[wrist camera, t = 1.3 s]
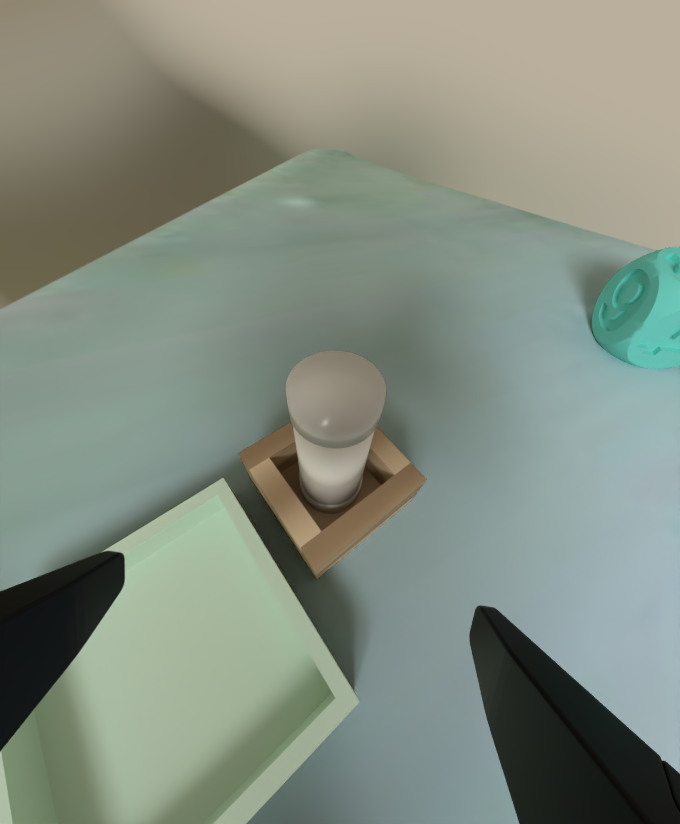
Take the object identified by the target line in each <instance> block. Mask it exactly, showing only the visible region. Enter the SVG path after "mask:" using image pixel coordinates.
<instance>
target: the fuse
mask: <svg viewBox="0 0 680 824" xmlns="http://www.w3.org/2000/svg"><path fill="white" fill-rule="evenodd" d="M286 398H287V404H288V410H289V417H290V420H291V422H292V425H293V429H294V436H295V443H296V449H297V456H298V463H299V470H300V473H299V481H300V488H301V493H302V496H303V498H304V499H305V501H306V502H307V504H308V505H309V506H310V507H312V508H313V509H315V510H316V511H319V512H321V513H326V514H335V513H339V512H342V511H344V510H346V509H348V508H349V507H350V506H352V505H353V503H354V502H355V501H356V499H357V497H358V495H359V492H360V488H361V485H362V479H363V472H364V468H365V464H366V460H367V457H368V453H369V449H370V445H371V442H372V438H373V434H374V430H375V429H376V427H377V425H378V423H379V420H380V417H381V413H382V410H383V406H384V402H385V399H386V385H385V381H384V378H383V376H382V375H381V373H380V371H379V370H378V369H377V368H376V367H375V366H374V365H373V364H372V363H371V362H370V361H368V360H367V359H365V358H363V357H361V356H359V355H357V354H354V353H350V352H346V351H337V350H332V351H323V352H318V353H315V354H312V355H310V356H308V357H306V358H305V359H303V360H301V361H300V362H299V363H298V364H297V365H296V366H295V367H294V368H293V369H292V371H291V372H290V374H289V376H288V379H287V382H286Z"/></svg>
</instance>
